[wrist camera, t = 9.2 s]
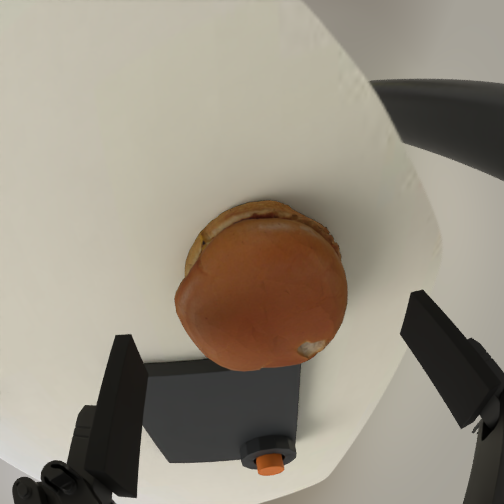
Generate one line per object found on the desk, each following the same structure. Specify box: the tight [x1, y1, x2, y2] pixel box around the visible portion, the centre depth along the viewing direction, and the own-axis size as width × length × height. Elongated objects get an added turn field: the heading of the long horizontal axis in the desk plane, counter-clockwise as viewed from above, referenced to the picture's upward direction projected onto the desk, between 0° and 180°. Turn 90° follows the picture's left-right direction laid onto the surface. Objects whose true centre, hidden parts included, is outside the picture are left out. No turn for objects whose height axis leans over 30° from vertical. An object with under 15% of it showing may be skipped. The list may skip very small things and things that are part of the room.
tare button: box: [256, 453, 284, 476], centre depth 25 cm, size 3×3×2 cm
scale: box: [142, 359, 301, 469], centre depth 24 cm, size 14×16×3 cm
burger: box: [174, 200, 348, 371], centre depth 17 cm, size 10×9×5 cm
